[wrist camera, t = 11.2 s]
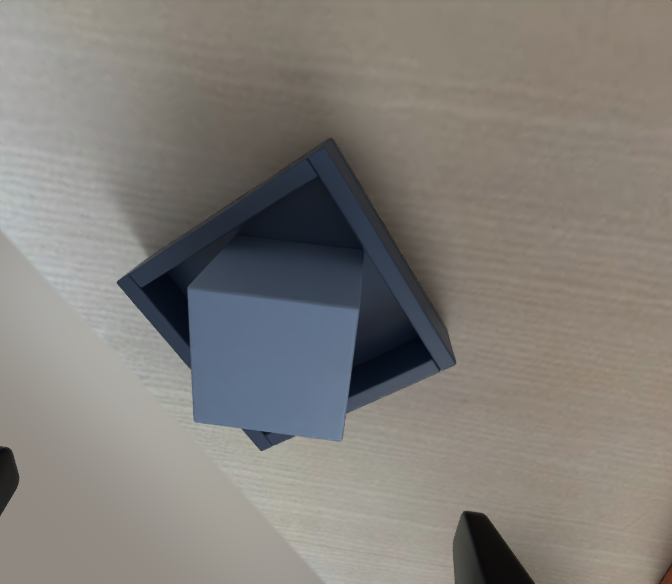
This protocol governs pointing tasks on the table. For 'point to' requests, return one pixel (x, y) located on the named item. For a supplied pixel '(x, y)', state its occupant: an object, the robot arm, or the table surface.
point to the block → (275, 336)
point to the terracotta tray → (668, 577)
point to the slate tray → (314, 228)
